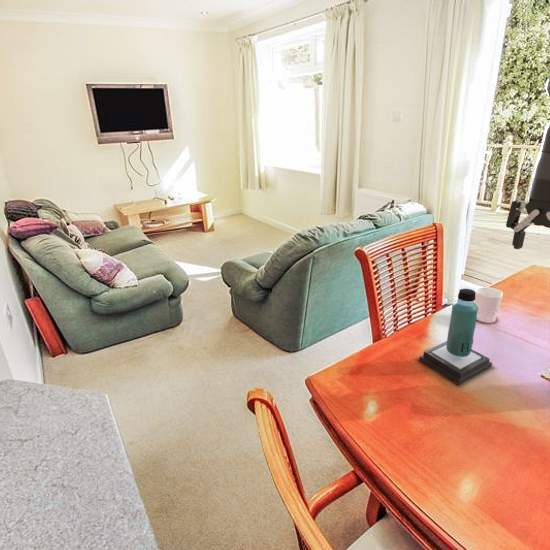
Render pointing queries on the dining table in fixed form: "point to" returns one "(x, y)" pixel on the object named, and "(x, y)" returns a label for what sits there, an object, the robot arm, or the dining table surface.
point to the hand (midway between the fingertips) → (538, 253)
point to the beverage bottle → (462, 324)
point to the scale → (452, 371)
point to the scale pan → (456, 358)
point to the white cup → (488, 303)
